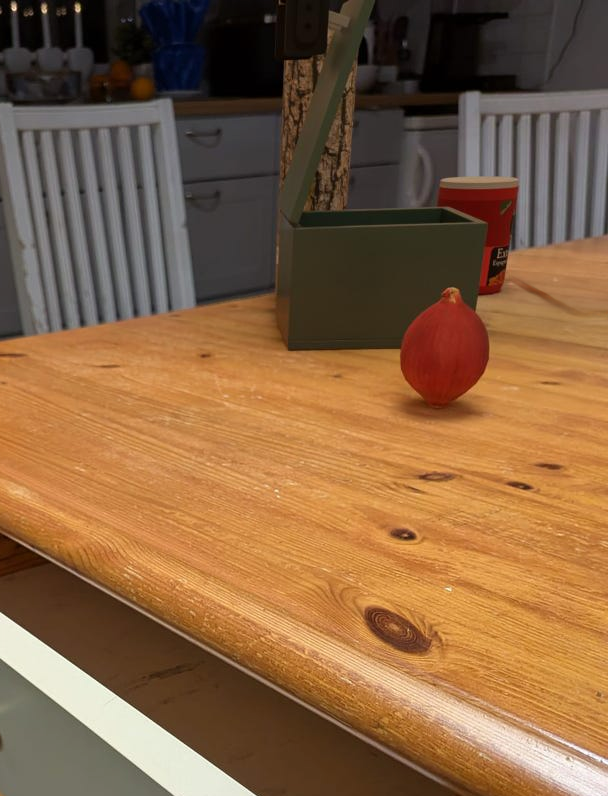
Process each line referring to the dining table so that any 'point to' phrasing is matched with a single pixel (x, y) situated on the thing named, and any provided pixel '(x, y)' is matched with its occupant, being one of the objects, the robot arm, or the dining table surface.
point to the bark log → (335, 159)
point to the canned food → (486, 218)
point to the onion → (445, 350)
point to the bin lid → (324, 104)
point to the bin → (371, 273)
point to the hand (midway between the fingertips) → (299, 57)
